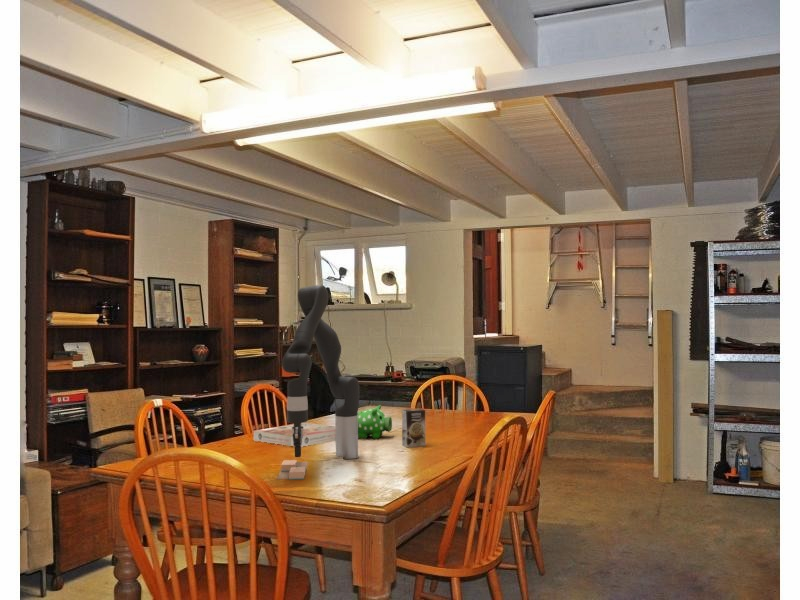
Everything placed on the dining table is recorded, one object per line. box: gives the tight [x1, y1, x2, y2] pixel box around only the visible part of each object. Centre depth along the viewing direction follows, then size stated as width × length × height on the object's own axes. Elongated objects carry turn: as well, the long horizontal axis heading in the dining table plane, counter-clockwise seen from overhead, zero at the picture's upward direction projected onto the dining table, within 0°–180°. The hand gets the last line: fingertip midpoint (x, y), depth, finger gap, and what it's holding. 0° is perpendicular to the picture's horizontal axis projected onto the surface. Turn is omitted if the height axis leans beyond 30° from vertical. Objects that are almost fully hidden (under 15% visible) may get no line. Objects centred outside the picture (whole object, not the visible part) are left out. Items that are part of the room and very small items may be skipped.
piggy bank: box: [358, 404, 393, 440], centre depth 328 cm, size 14×18×15 cm
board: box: [276, 461, 310, 480], centre depth 251 cm, size 10×28×1 cm, turn 4°
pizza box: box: [252, 422, 336, 448], centre depth 325 cm, size 32×5×32 cm
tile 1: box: [280, 459, 298, 472], centre depth 253 cm, size 5×2×8 cm
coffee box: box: [401, 408, 426, 448], centre depth 304 cm, size 9×6×16 cm
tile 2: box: [289, 467, 306, 480], centre depth 240 cm, size 5×2×8 cm
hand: (297, 456), depth 244 cm, fingers closed
